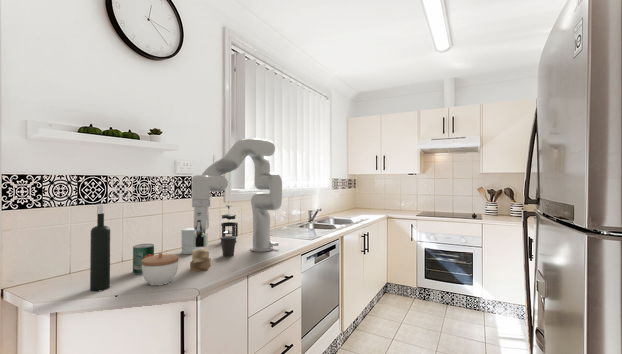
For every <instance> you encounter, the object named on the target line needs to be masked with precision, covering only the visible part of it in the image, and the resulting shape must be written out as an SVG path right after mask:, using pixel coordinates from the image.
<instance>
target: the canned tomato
mask: <svg viewBox="0 0 622 354" xmlns="http://www.w3.org/2000/svg"><path fill="white" fill-rule="evenodd" d="M150 256H155V244H154V243H141V244H135V245H133V246H132V274H134V275H143V274H142V264H141V260H142V259H144V258H146V257H150Z"/></svg>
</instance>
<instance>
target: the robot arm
mask: <svg viewBox="0 0 622 354" xmlns="http://www.w3.org/2000/svg"><path fill="white" fill-rule="evenodd" d="M275 151H276V146H275V143H274V142H273V141H272V140H269V139H261V138H253V137H252V138H241V139H238V140H237V141H236V142H235V143H234V144H233V145H232V146H231V148H230V149H229V150H228V151H227V153H226V154H225V155H224V156H223V157H222V158H220V159H218V160H216V161H215V162H214V163H212V164H211V165H209V166H208V167H207V168H206V169H205V170H204V171H203V172H202V174H201V175H200V174H197V175H193V176H192V178H191V208H193V209H194V210H193V214H194V215H193V228H194V230H196V247H201V248H204V247H203V246H204V237H203V234H205V233H207V232H206V230H208V229H209V227H210V222H209V221H210V219H209V216H210V215H209V214H210V213H209V208H210V207H211V192H217V193H218V192H223V191H225V190H226V189H227V187H228V185H229V182H228V179H227V178H226V177H225V176H224V175H225V174H227V173H231V172H233V171H236V170H237V169H238V168H239V167H240V166H241V164H242V163H243V161H244V160H246V158H247V156H249V158H250V159H251V160H252V161H253V165H254V180H253V181H254V187H255V189H257V190H259V191H269V192H256V193H254V194H253V195H252V197H251V198H250V204H251V210H252V246H250V247H249V250H250V252H255V253H256V252H257V253H259V252H260V253H264V252H265V253H266V252H269V251H272V250H274V247H278V246H279V242H276V241H272V240H271V215H270V213H269V211H278V210H279V209H281V206H282V204H283V203H282V201H283V180H282V176H281V175H280V174H279V173H276V172H271V164H270V161H269V159H268V158H267V157H271V156H273V155H274V154H275Z"/></svg>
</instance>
